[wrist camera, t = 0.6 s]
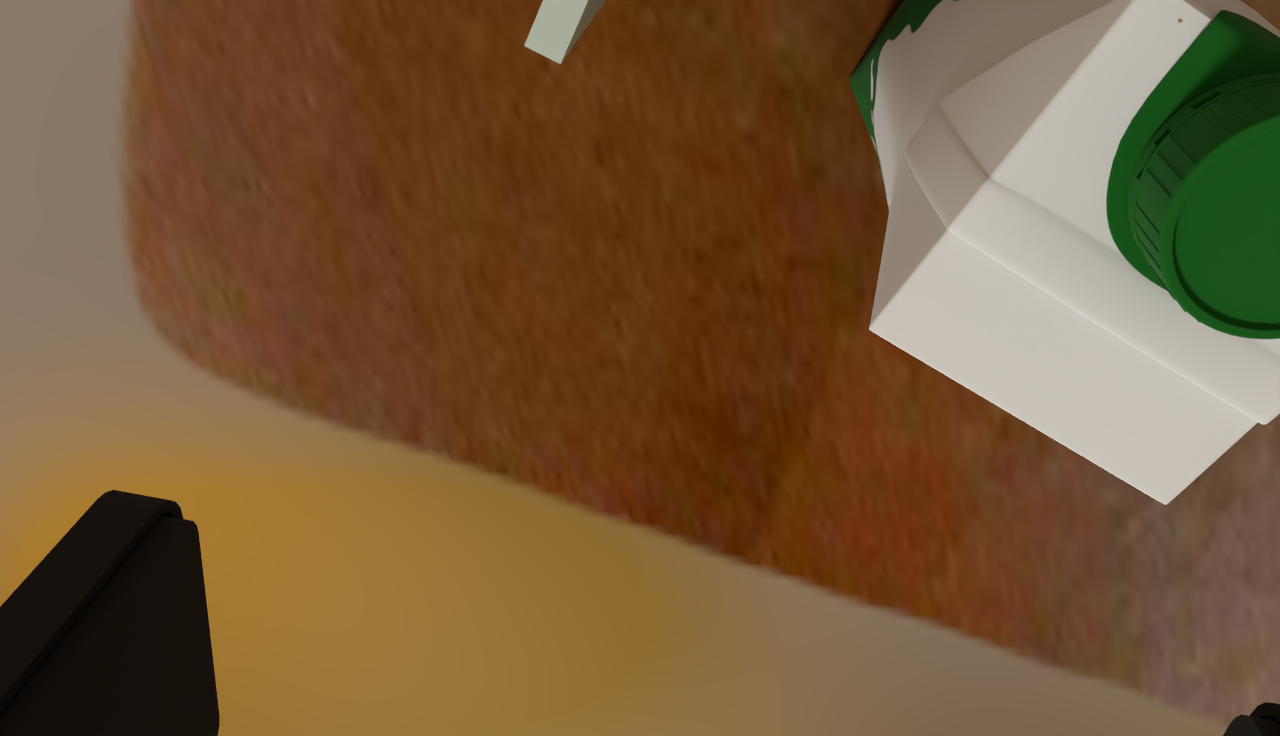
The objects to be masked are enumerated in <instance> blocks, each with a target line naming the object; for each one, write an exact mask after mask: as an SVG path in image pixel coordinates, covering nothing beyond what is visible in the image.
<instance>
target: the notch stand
mask: <svg viewBox="0 0 1280 736" xmlns="http://www.w3.org/2000/svg"><path fill="white" fill-rule="evenodd" d="M604 2H605V0H543V2H542V4H541V7H540V9H539V11H538V14H537V16H536V19H535V21H534V24H533V26H532V28H531V31H530V33H529V36H528V38H527V40H526V43H525V45H524V46H526V47H528V48H530V49H532V50H534V51H535V52H537V53H539V54H541V55H543V56H545V57H547V58H549V59H551V60H553V61H555V62H557V63H559V64H561V63H562V61H563V60H564V59H565V57H566V56H567V54H568V53H569V51H570V50H571V49H572V47H573V46H574V44H575V43H576V42H577V40H578V39H579V37H580V36H581V34H582V33H583V32H584V30H585V29H586V27H587V26H588V25H589V23H590V22H591V20H592V19H593V17H594V16H595V15H596V13H597V12H598V10H599V9H600V8H601V6H602V5H603V3H604Z"/></svg>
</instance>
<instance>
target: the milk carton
mask: <svg viewBox="0 0 1280 736" xmlns="http://www.w3.org/2000/svg"><path fill="white" fill-rule="evenodd" d="M849 81H850V84H851V86H852V89H853V92H854V94H855V97H856V100H857V102H858V105H859V108H860V110H861V113H862V116H863V118H864V121H865V123H866V126H867V129H868V131H869V134H870V137H871V139H872V142H873V145H874V147H875V150H876V152H877V155H878V158H879V163H880V168H881V173H882V178H883V182H884V187H885V192H886V197H887V202H888V206H889V217H888V223H887V229H886V235H885V241H884V248H883V254H882V260H881V266H880V271H879V277H878V283H877V289H876V295H875V301H874V306H873V312H872V317H871V323H870V327H869V330H871V331H872V332H874V333H875V334H877V335H879V336H880V337H882V338H884V339H885V340H887V341H889V342H890V343H892V344H894V345H895V346H897V347H899V348H901V349H902V350H904V351H906V352H907V353H909V354H911V355H912V356H914V357H916V358H917V359H919V360H921V361H922V362H924V363H926V364H928V365H929V366H931V367H933V368H934V369H936V370H938V371H939V372H941V373H943V374H944V375H946V376H948V377H950V378H951V379H953V380H955V381H956V382H958V383H960V384H961V385H963V386H965V387H966V388H968V389H970V390H971V391H973V392H975V393H977V394H978V395H980V396H982V397H983V398H985V399H987V400H988V401H990V402H992V403H993V404H995V405H997V406H999V407H1000V408H1002V409H1004V410H1005V411H1007V412H1009V413H1010V414H1012V415H1014V416H1015V417H1017V418H1019V419H1020V420H1022V421H1024V422H1026V423H1027V424H1029V425H1031V426H1032V427H1034V428H1036V429H1037V430H1039V431H1041V432H1042V433H1044V434H1046V435H1048V436H1049V437H1051V438H1053V439H1054V440H1056V441H1058V442H1059V443H1061V444H1063V445H1064V446H1066V447H1068V448H1069V449H1071V450H1073V451H1075V452H1076V453H1078V454H1080V455H1081V456H1083V457H1085V458H1086V459H1088V460H1090V461H1091V462H1093V463H1095V464H1096V465H1098V466H1100V467H1102V468H1103V469H1105V470H1107V471H1108V472H1110V473H1112V474H1113V475H1115V476H1117V477H1118V478H1120V479H1122V480H1124V481H1125V482H1127V483H1129V484H1130V485H1132V486H1134V487H1135V488H1137V489H1139V490H1140V491H1142V492H1144V493H1145V494H1147V495H1149V496H1151V497H1152V498H1154V499H1156V500H1157V501H1159V502H1161V503H1163V504H1165V505H1166V504H1168V503H1169V502H1170V501H1171V500H1173V499H1174V498H1175V497H1176V496H1177V495H1178V494H1179V493H1180V492H1181V491H1183V490H1184V489H1185V488H1186V487H1187V486H1188V485H1189V484H1190V483H1191V482H1193V481H1194V480H1195V479H1196V478H1197V477H1198V476H1199V475H1200V474H1201V473H1202V472H1204V471H1205V470H1206V469H1207V468H1208V467H1209V466H1210V465H1211V464H1212V463H1213V462H1215V461H1216V460H1217V459H1218V458H1219V457H1220V456H1221V455H1222V454H1223V453H1224V452H1226V451H1227V450H1228V449H1229V448H1230V447H1231V446H1232V445H1233V444H1234V443H1235V442H1237V441H1238V440H1239V439H1240V438H1241V437H1242V436H1243V435H1244V434H1245V433H1246V432H1248V431H1249V430H1250V429H1251V428H1252V427H1253V426H1254V425H1255V424H1256V423H1257V422H1259V423H1261V424H1267V423H1268V422H1270V421H1271V420H1273V419H1274V418H1275V417H1276V416H1277V415H1279V414H1280V31H1278V30H1277V29H1276V28H1275V27H1274V26H1272V25H1271V24H1270V23H1269V22H1268V21H1266V20H1265V19H1264V18H1263V17H1262V16H1261V15H1259V14H1258V13H1257V12H1256V11H1254V10H1253V9H1252V8H1250V7H1249V6H1247V5H1246V4H1245V3H1243V2H1242V1H1241V0H903V1H902V3H901V4H900V6H899V7H898V9H897V10H896V12H895V13H894V14H893V16H892V17H891V19H890V20H889V22H888V23H887V25H886V26H885V27H884V29H883V30H882V32H881V33H880V35H879V36H878V38H877V39H876V40H875V42H874V43H873V45H872V46H871V48H870V49H869V51H868V52H867V53H866V55H865V56H864V58H863V59H862V61H861V62H860V64H859V65H858V66H857V68H856V69H855V71H854V72H853V74H852V75H851V76H850V78H849Z"/></svg>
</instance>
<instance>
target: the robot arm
mask: <svg viewBox="0 0 1280 736" xmlns="http://www.w3.org/2000/svg"><path fill="white" fill-rule="evenodd" d="M218 730H219V709H218V700H217V691H216V682H215V673H214V665H213V656H212V647H211V639H210V629H209V621H208V613H207V604H206V594H205V586H204V578H203V568H202V559H201V550H200V542H199V533H198V529H197V525H196V524H195V523H194V522H193V521H190V520H185V519H183V516H182V512H181V508H180V507H179V505H178V504H177V503H176V502H174V501H170V500H165V499H160V498H155V497H149V496H143V495H138V494H133V493H128V492H122V491H116V490H112V491H109V492H106V493H104V494H103V495H102V496H101V497H100V498H98V499H97V500H96V501H95V503H94V504H93V505H92V506H91V507H90V508H89V509H88V510H87V511H86V512H85V514H84V515H83V516H82V517H81V518H80V519H79V520H78V521H77V523H76V524H75V525H74V526H73V527H72V528H71V529H70V530H69V531H68V533H66V535H65V536H64V537H63V538H62V539H61V540H60V541H59V542H58V543H57V545H56V546H55V547H54V548H53V549H52V550H51V551H50V553H48V555H47V556H46V557H45V558H44V559H43V560H42V561H41V562H40V563H39V565H38V566H37V567H36V568H35V569H34V570H33V571H32V573H30V575H29V576H28V577H27V578H26V579H25V580H24V581H23V582H22V583H21V585H20V586H19V587H18V588H17V589H16V590H15V591H14V592H13V594H12V595H11V596H10V597H9V598H8V599H7V600H6V601H5V602H4V603H3V604H2V606H1V607H0V736H217V735H218ZM1223 736H1280V704H1275V703H1267V702H1265V703H1263V704H1261V705H1259V706H1257V707H1256V709H1255V710H1254V711H1253V712H1252V713H1251V715H1250V716H1247V715H1240V716H1238V717H1236V718H1235V719H1234V720H1233V721H1232V722H1231V723H1230V725H1229V727H1228V728H1227V730H1226V732H1225V733H1224V735H1223Z"/></svg>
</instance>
